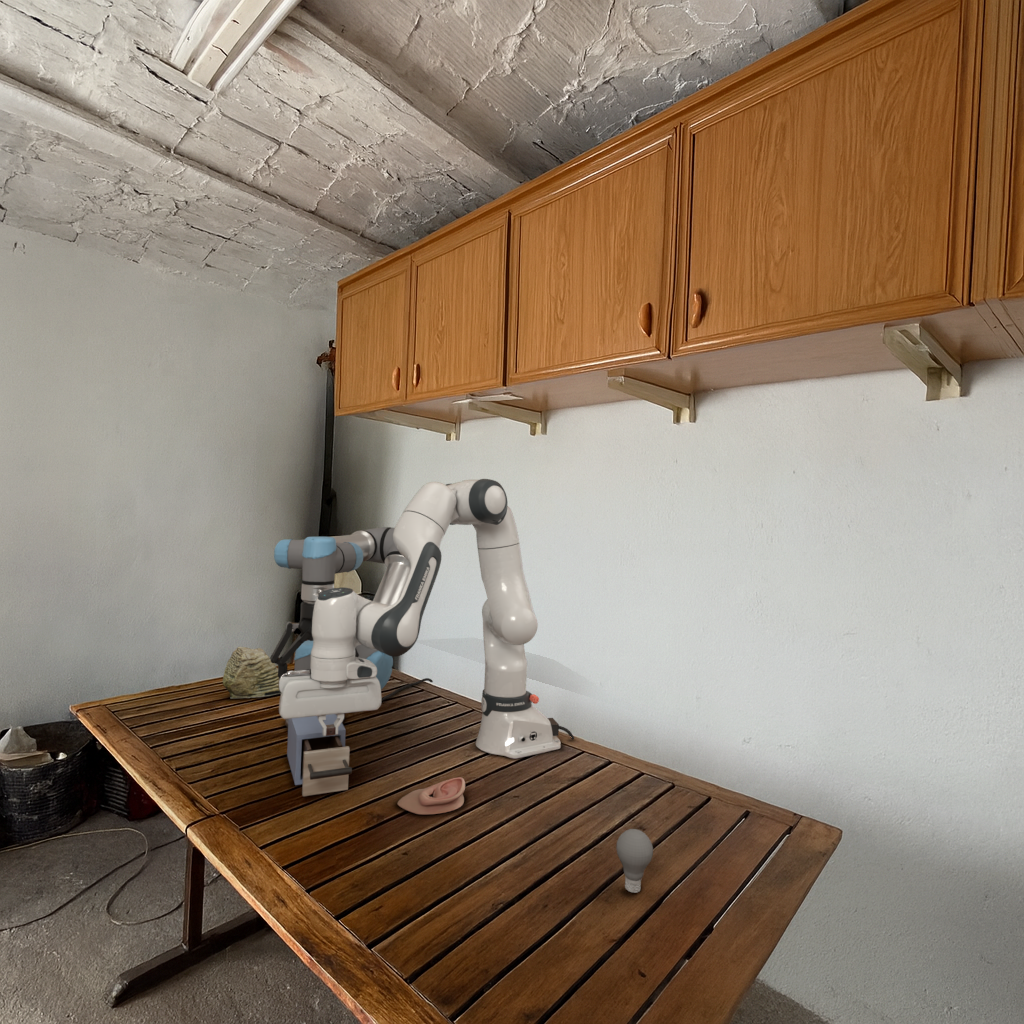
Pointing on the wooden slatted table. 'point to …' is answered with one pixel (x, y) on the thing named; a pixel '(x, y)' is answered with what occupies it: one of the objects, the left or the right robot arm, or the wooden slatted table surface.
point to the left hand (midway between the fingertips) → (314, 689)
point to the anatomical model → (435, 798)
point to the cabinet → (306, 730)
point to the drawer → (324, 765)
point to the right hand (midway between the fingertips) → (330, 734)
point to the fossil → (250, 674)
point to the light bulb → (634, 857)
